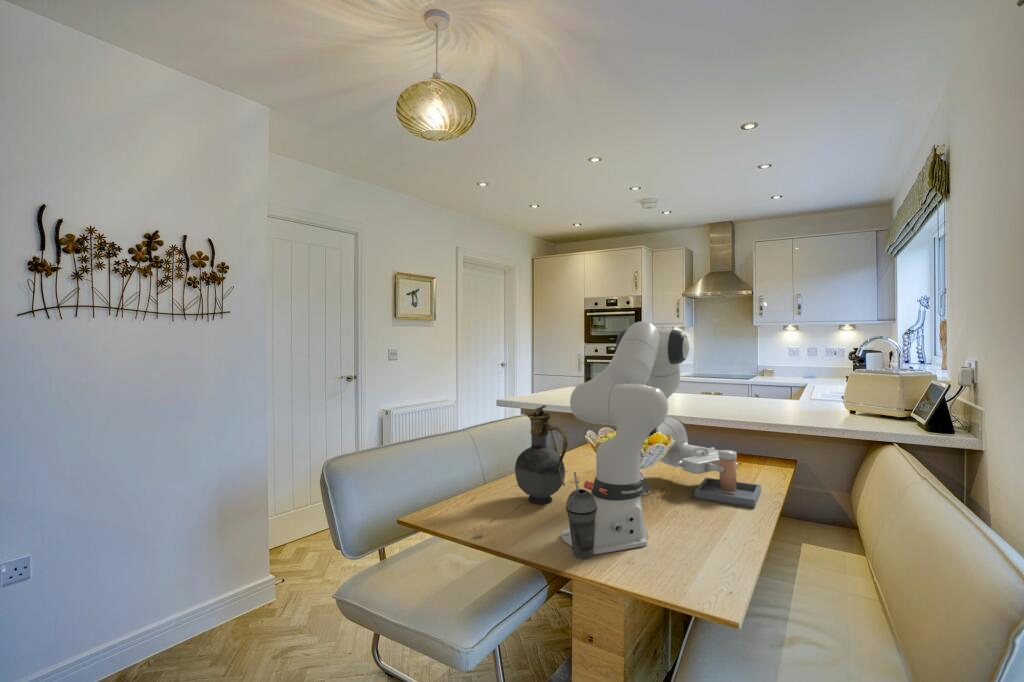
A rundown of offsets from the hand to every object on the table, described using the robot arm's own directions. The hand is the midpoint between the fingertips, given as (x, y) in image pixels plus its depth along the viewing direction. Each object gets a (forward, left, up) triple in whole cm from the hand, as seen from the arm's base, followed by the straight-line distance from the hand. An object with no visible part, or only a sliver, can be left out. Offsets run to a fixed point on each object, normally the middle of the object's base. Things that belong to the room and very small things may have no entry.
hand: (730, 467), depth 155 cm
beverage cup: (-66, -9, -9) cm, 67 cm away
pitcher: (-53, +27, -9) cm, 60 cm away
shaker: (0, +1, -7) cm, 7 cm away
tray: (0, +1, -9) cm, 9 cm away
